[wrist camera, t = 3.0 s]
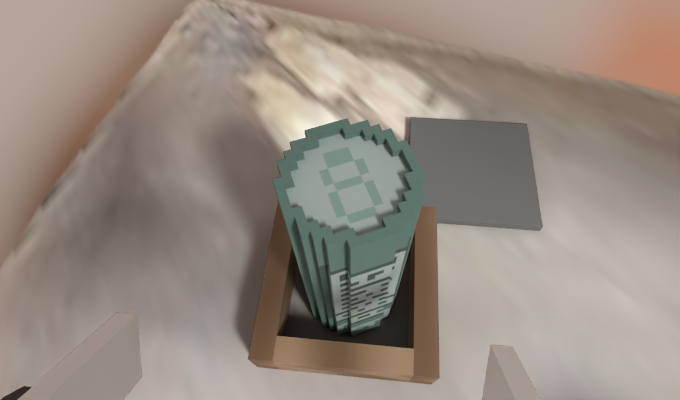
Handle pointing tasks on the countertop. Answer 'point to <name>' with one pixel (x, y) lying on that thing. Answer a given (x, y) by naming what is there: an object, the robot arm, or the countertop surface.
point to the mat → (477, 172)
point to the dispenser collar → (342, 356)
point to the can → (350, 219)
